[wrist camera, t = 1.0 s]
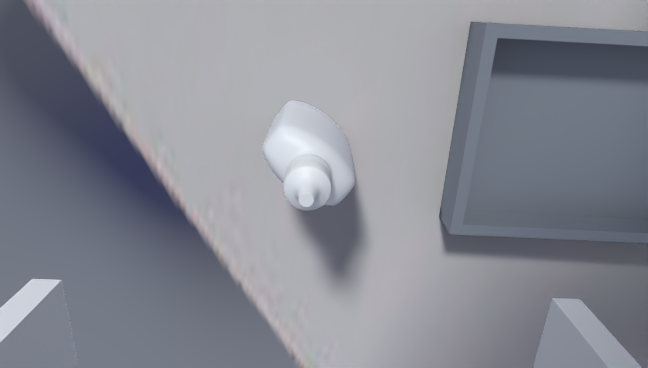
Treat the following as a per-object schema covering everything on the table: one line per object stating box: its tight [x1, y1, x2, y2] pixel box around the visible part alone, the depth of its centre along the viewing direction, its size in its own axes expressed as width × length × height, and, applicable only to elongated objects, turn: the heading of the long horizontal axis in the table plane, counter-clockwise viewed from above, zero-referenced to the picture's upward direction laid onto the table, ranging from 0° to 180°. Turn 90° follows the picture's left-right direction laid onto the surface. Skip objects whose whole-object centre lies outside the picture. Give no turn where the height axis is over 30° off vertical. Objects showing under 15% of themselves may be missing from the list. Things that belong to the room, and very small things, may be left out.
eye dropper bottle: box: [262, 100, 355, 211], centre depth 26 cm, size 4×6×12 cm
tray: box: [439, 22, 648, 243], centre depth 30 cm, size 14×20×3 cm
